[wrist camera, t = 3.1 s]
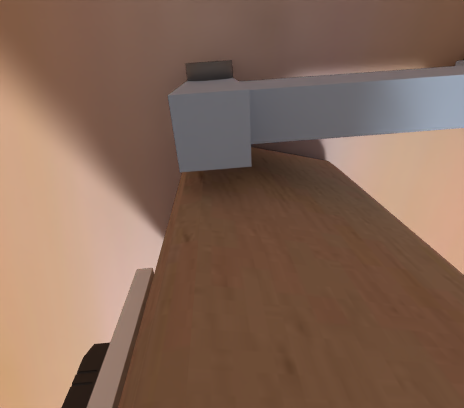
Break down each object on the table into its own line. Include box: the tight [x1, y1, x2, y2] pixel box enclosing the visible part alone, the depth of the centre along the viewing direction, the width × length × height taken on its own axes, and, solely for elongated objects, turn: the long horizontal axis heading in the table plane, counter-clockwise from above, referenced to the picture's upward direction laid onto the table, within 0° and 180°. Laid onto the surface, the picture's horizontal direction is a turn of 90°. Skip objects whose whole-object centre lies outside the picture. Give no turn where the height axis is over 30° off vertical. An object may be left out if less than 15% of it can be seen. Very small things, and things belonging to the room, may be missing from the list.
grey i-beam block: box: [168, 60, 464, 172], centre depth 12 cm, size 17×3×8 cm, turn 93°
